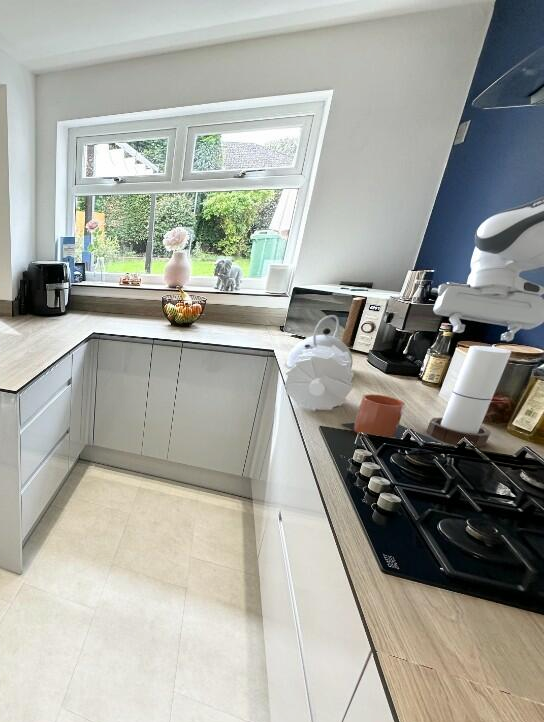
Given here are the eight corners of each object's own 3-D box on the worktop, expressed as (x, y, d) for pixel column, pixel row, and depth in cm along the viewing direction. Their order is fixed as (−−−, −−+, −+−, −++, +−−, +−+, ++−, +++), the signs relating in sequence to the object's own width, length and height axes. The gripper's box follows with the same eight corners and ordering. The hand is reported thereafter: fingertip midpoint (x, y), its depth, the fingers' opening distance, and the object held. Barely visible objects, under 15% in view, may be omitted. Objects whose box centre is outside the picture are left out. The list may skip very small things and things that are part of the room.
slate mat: (458, 451, 102) (458, 450, 101) (402, 455, 100) (402, 453, 100) (390, 422, 118) (391, 420, 118) (341, 424, 117) (342, 423, 117)
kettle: (330, 380, 155) (345, 322, 147) (272, 365, 173) (283, 314, 166) (361, 370, 166) (377, 317, 159) (304, 358, 185) (315, 309, 177)
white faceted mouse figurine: (291, 420, 129) (300, 394, 147) (360, 411, 117) (360, 384, 135) (274, 368, 127) (285, 349, 146) (341, 353, 115) (344, 334, 134)
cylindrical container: (430, 433, 111) (462, 346, 103) (449, 430, 113) (482, 345, 105) (461, 445, 105) (498, 353, 97) (481, 441, 106) (519, 351, 98)
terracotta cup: (402, 439, 108) (414, 405, 104) (373, 441, 107) (384, 407, 104) (372, 425, 116) (382, 393, 113) (345, 427, 115) (354, 395, 112)
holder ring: (497, 446, 104) (502, 434, 103) (460, 448, 103) (465, 436, 102) (450, 427, 115) (454, 416, 114) (416, 429, 114) (420, 418, 112)
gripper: (447, 274, 104) (438, 321, 102) (554, 289, 97) (547, 340, 95) (432, 286, 110) (423, 331, 108) (532, 301, 103) (524, 349, 100)
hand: (482, 335), depth 101 cm, fingers open, 8 cm apart
